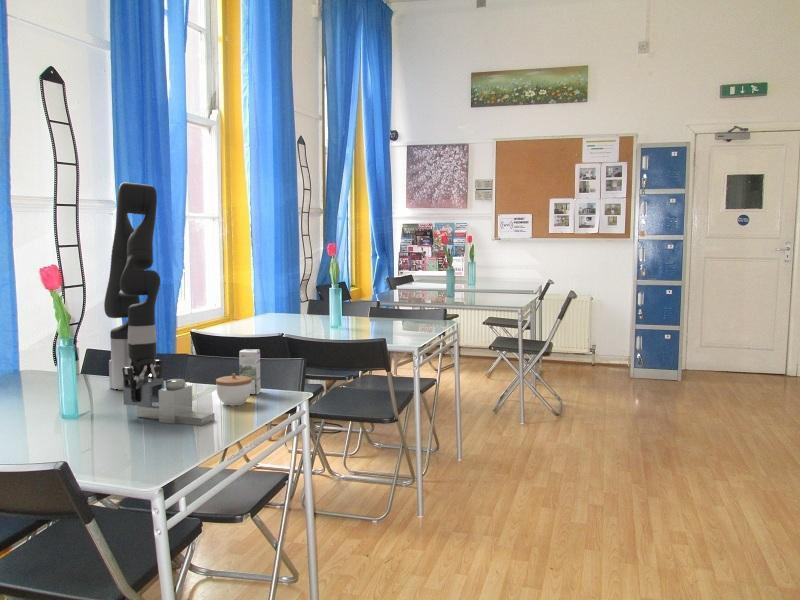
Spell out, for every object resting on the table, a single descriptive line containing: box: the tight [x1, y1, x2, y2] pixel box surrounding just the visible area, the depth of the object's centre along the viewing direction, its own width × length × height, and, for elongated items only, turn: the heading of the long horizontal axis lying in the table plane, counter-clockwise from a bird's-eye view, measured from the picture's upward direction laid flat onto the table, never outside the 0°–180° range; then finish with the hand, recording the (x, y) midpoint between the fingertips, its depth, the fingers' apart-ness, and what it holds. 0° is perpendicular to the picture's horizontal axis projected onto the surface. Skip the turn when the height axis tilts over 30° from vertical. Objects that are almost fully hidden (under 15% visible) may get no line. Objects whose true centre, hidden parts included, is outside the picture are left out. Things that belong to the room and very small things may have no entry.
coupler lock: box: [122, 377, 165, 407], centre depth 192 cm, size 10×6×7 cm, turn 71°
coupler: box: [135, 378, 216, 426], centre depth 189 cm, size 23×8×11 cm, turn 71°
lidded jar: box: [215, 372, 252, 407], centre depth 208 cm, size 11×11×9 cm
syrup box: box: [238, 348, 262, 394], centre depth 222 cm, size 6×6×14 cm
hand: (144, 399), depth 192 cm, fingers closed on coupler lock, 6 cm apart
